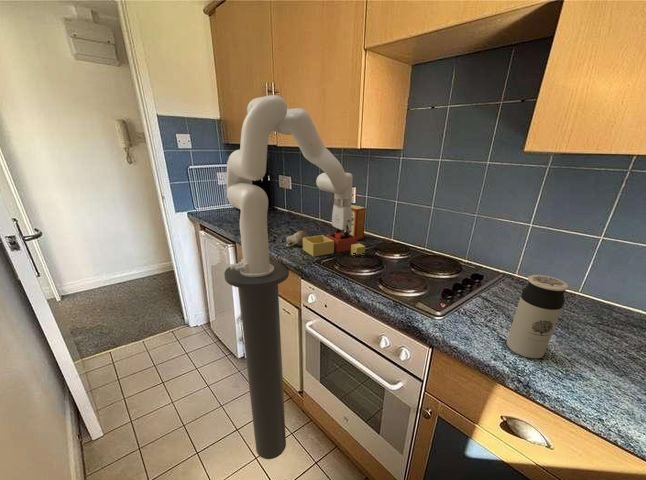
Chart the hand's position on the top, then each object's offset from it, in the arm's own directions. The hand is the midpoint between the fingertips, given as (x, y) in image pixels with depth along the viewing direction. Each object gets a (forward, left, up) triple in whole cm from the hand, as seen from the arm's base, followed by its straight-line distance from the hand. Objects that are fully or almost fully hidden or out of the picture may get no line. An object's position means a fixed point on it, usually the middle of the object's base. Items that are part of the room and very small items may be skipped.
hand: (341, 242), depth 138 cm
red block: (0, 0, 0) cm, 0 cm away
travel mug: (-1, -85, -3) cm, 85 cm away
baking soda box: (+14, +11, -3) cm, 18 cm away
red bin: (0, 0, -3) cm, 3 cm away
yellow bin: (-12, 0, -3) cm, 12 cm away
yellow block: (+1, -12, -3) cm, 12 cm away
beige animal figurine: (-17, +12, -3) cm, 21 cm away
